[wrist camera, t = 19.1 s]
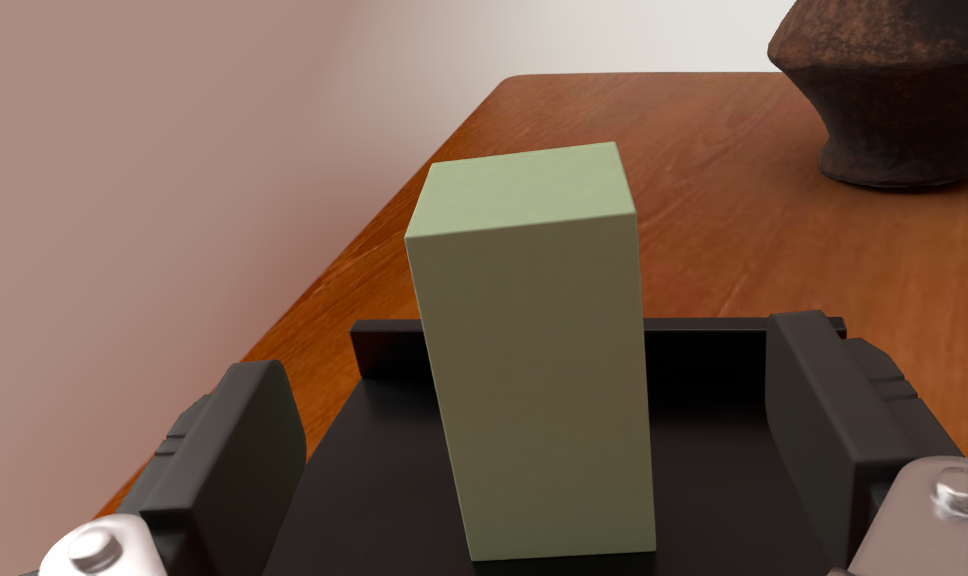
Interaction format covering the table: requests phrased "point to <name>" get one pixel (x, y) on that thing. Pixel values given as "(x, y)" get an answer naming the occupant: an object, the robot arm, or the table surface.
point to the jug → (883, 86)
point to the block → (538, 349)
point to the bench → (665, 572)
